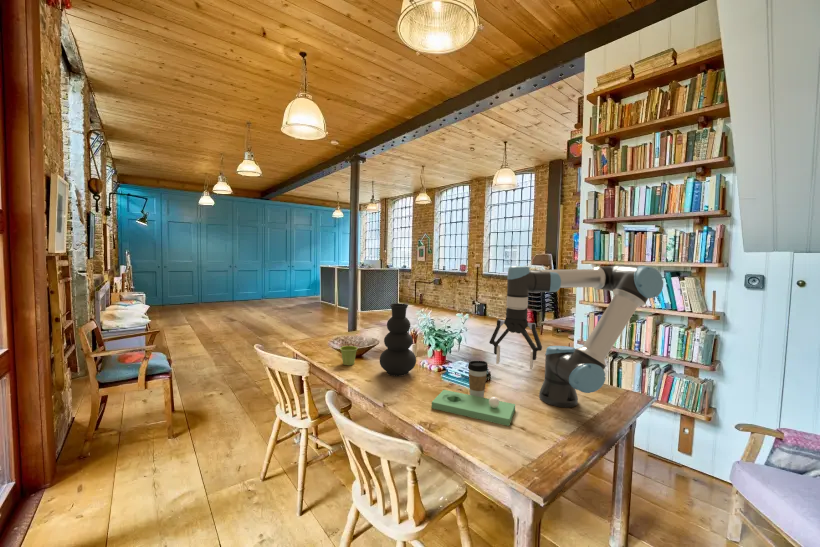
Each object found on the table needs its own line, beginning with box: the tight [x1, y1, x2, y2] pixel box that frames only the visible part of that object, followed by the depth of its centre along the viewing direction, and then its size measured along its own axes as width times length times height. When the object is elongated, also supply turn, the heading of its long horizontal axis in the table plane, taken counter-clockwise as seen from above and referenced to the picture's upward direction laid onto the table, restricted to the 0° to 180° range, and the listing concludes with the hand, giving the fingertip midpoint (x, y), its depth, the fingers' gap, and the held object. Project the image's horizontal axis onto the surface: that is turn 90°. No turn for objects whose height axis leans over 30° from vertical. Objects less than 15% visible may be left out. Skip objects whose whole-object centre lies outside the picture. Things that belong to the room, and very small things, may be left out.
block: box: [431, 389, 516, 427], centre depth 138 cm, size 30×14×2 cm, turn 65°
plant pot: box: [339, 345, 358, 366], centre depth 188 cm, size 9×9×9 cm
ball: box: [488, 396, 500, 408], centre depth 134 cm, size 4×4×4 cm
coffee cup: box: [467, 360, 489, 398], centre depth 150 cm, size 8×8×15 cm
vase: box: [379, 302, 417, 377], centre depth 175 cm, size 18×18×35 cm
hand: (514, 365), depth 130 cm, fingers open, 11 cm apart
